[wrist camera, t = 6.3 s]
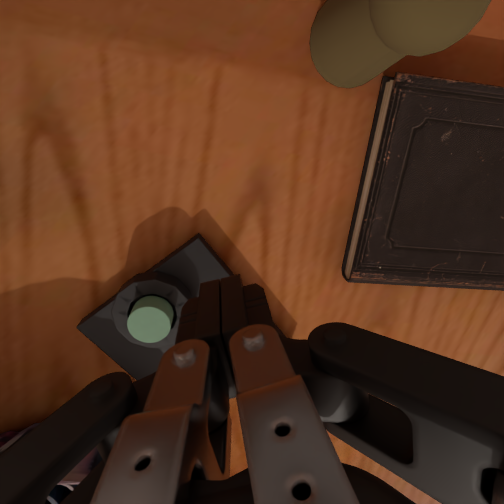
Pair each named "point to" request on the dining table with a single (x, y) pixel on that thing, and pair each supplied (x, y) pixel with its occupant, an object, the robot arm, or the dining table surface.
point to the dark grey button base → (153, 284)
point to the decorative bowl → (71, 480)
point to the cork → (385, 34)
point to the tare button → (150, 319)
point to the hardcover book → (431, 187)
